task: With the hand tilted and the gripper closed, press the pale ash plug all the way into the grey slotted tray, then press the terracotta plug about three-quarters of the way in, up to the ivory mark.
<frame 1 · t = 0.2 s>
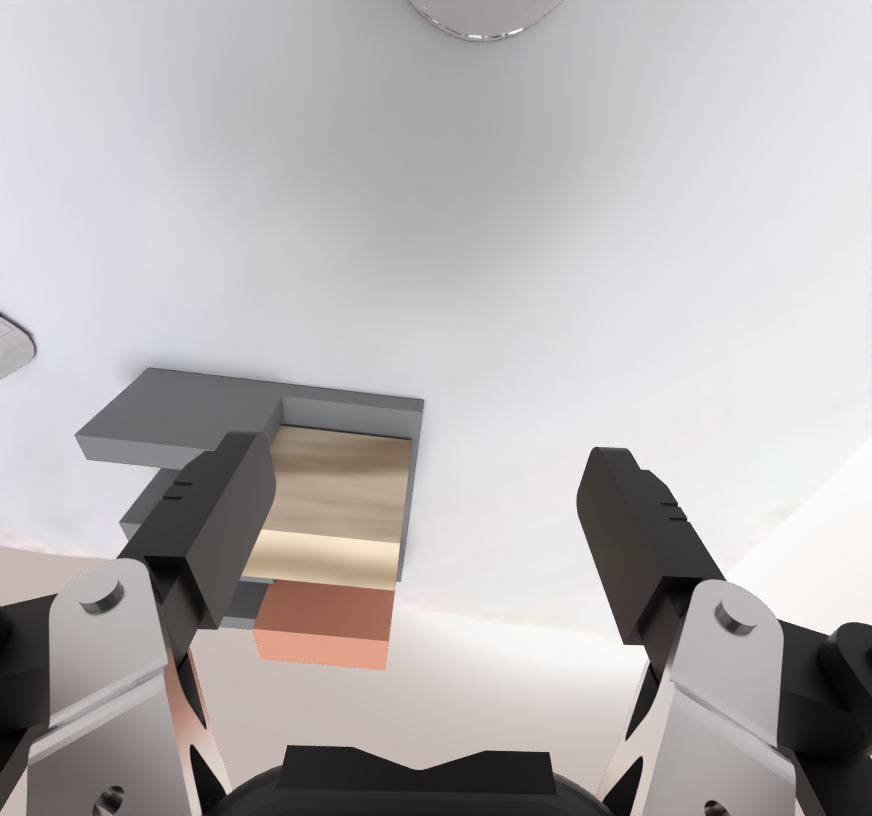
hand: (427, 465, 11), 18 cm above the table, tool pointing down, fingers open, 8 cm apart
ash plug: (331, 502, 29), point 6 cm above the table, slide at 8.0 cm
terracotta plug: (335, 595, 36), point 6 cm above the table, slide at 8.0 cm
grey slotted tray: (299, 486, 38), on the table
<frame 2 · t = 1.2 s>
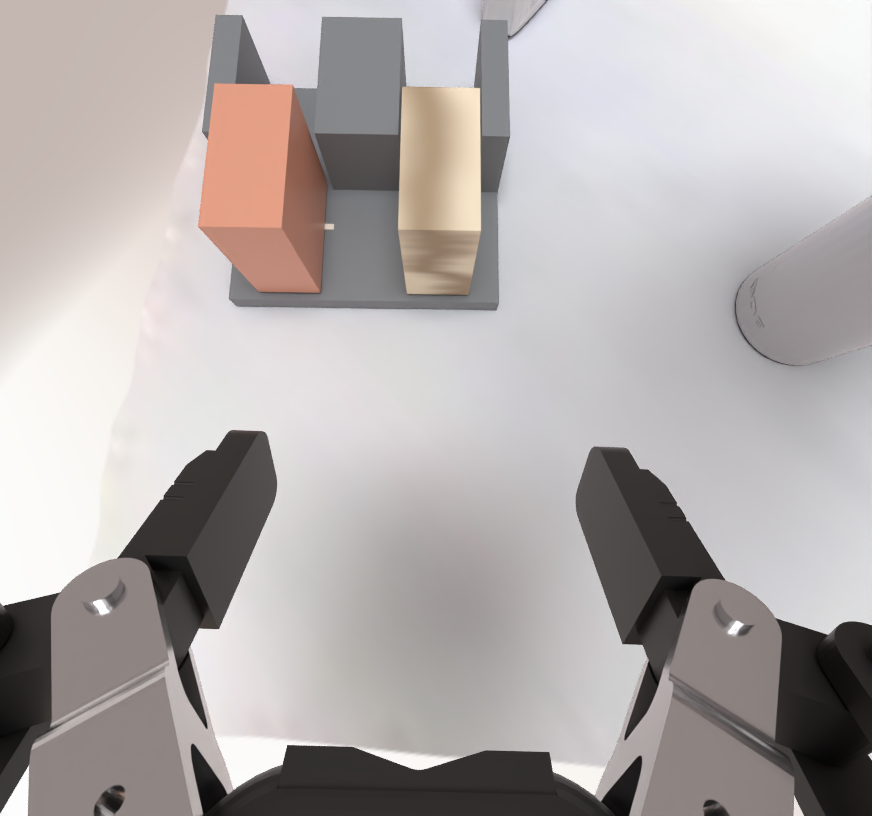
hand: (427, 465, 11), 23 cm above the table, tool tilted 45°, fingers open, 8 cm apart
ash plug: (439, 203, 31), point 6 cm above the table, slide at 8.0 cm
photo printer: (522, 3, 42), on the table
terracotta plug: (273, 200, 31), point 6 cm above the table, slide at 8.0 cm
grey slotted tray: (371, 201, 38), on the table
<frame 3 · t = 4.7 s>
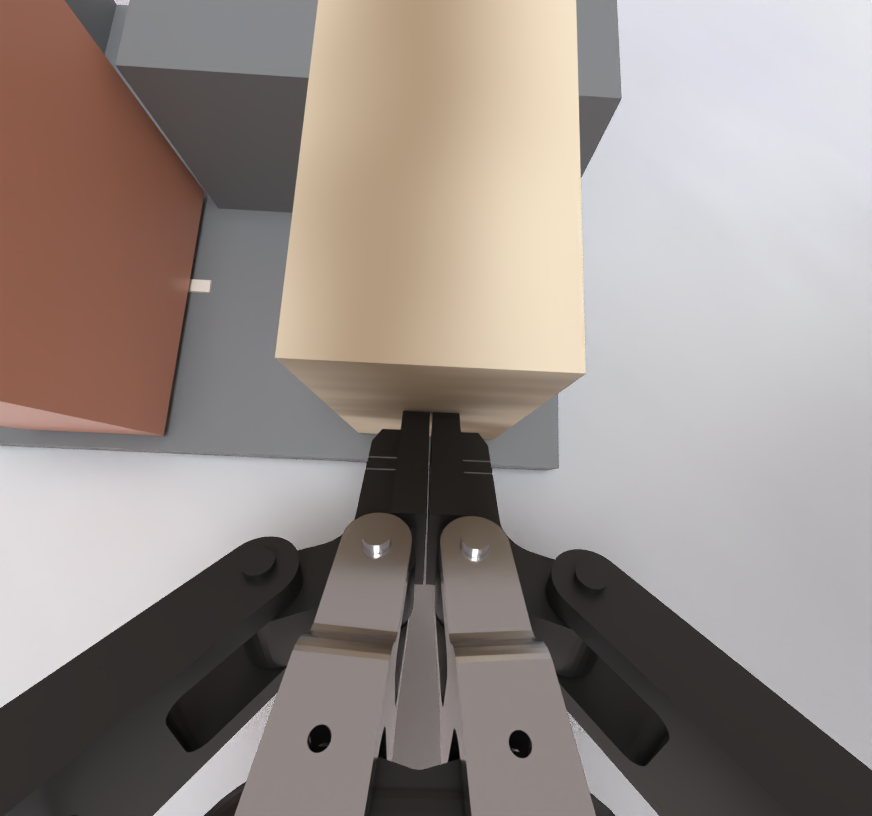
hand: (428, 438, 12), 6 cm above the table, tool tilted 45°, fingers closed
ash plug: (436, 243, 12), point 6 cm above the table, slide at 7.6 cm, touching gripper
terracotta plug: (6, 233, 12), point 6 cm above the table, slide at 8.0 cm
grey slotted tray: (302, 234, 19), on the table
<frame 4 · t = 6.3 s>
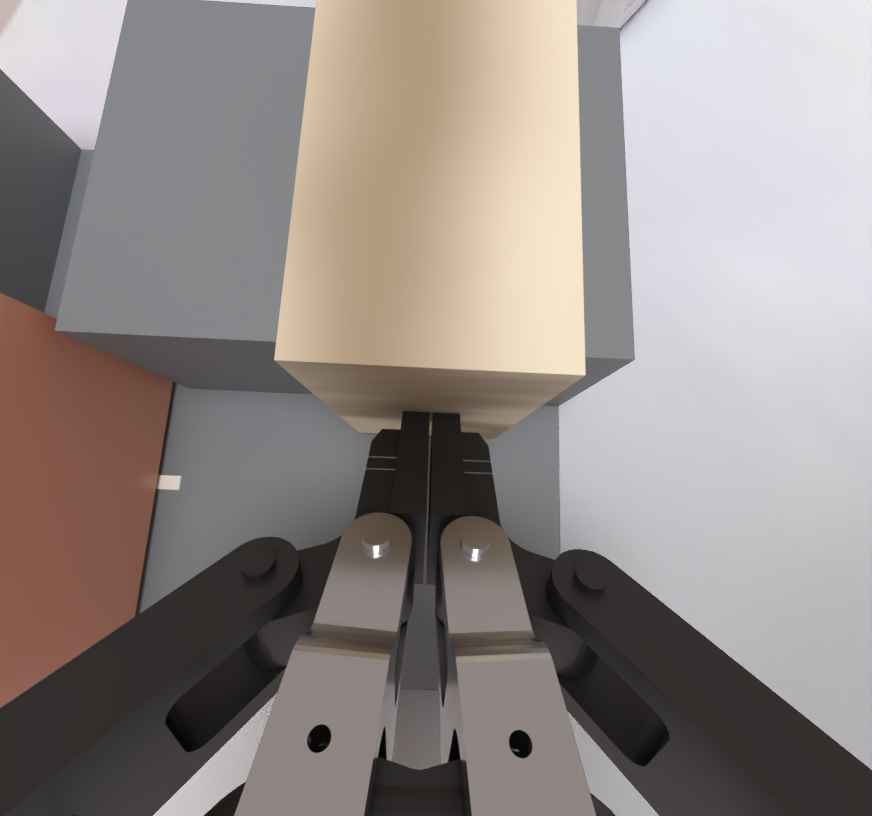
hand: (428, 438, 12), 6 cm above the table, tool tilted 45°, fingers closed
ash plug: (436, 243, 12), point 6 cm above the table, slide at -0.1 cm, touching gripper
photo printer: (599, 2, 22), on the table
grey slotted tray: (283, 400, 18), on the table
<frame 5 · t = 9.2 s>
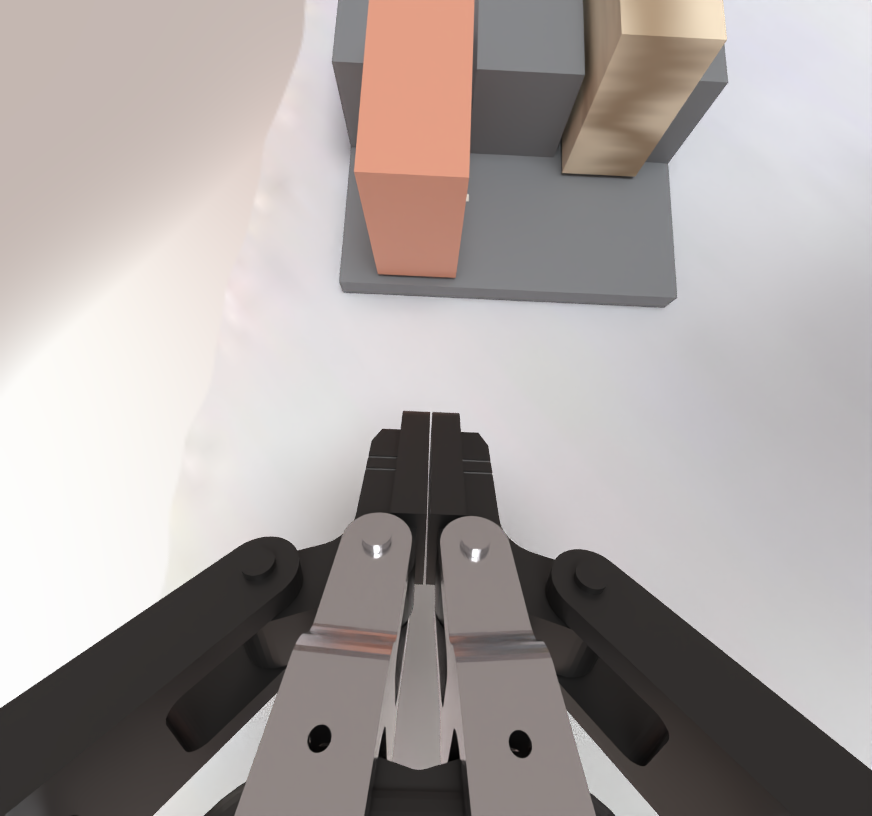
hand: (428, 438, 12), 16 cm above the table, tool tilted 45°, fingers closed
ash plug: (626, 46, 25), point 6 cm above the table, slide at -0.1 cm
terracotta plug: (419, 154, 24), point 6 cm above the table, slide at 8.0 cm
grey slotted tray: (506, 171, 31), on the table
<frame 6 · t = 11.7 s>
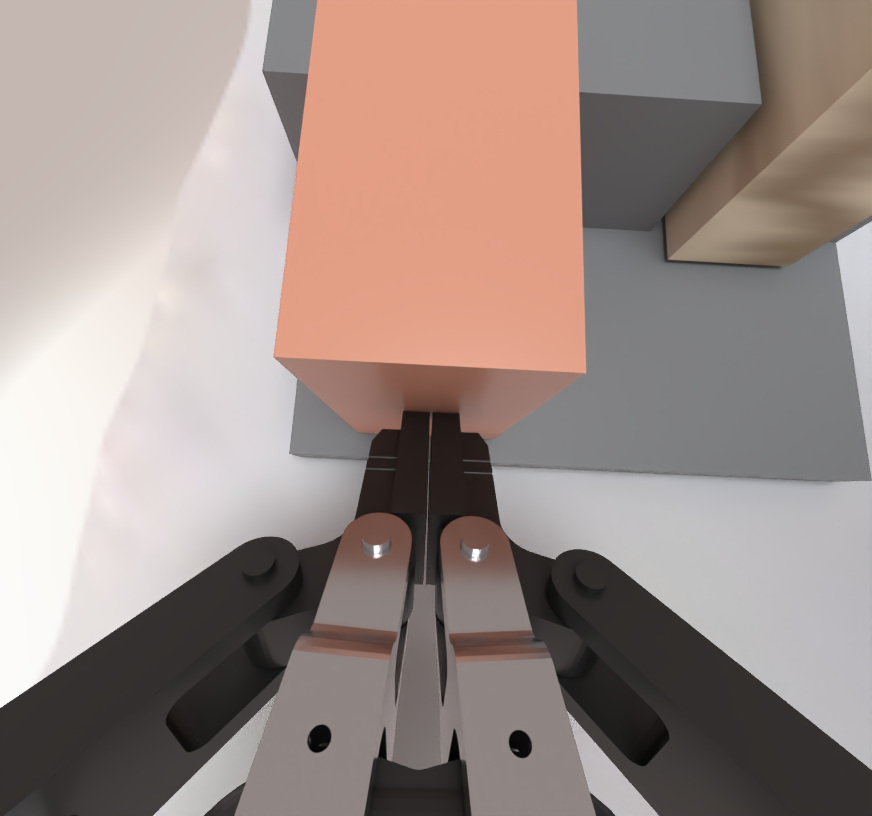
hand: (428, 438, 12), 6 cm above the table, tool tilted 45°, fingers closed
ash plug: (811, 51, 14), point 6 cm above the table, slide at -0.1 cm
terracotta plug: (435, 242, 12), point 6 cm above the table, slide at 7.6 cm, touching gripper
grey slotted tray: (567, 247, 19), on the table
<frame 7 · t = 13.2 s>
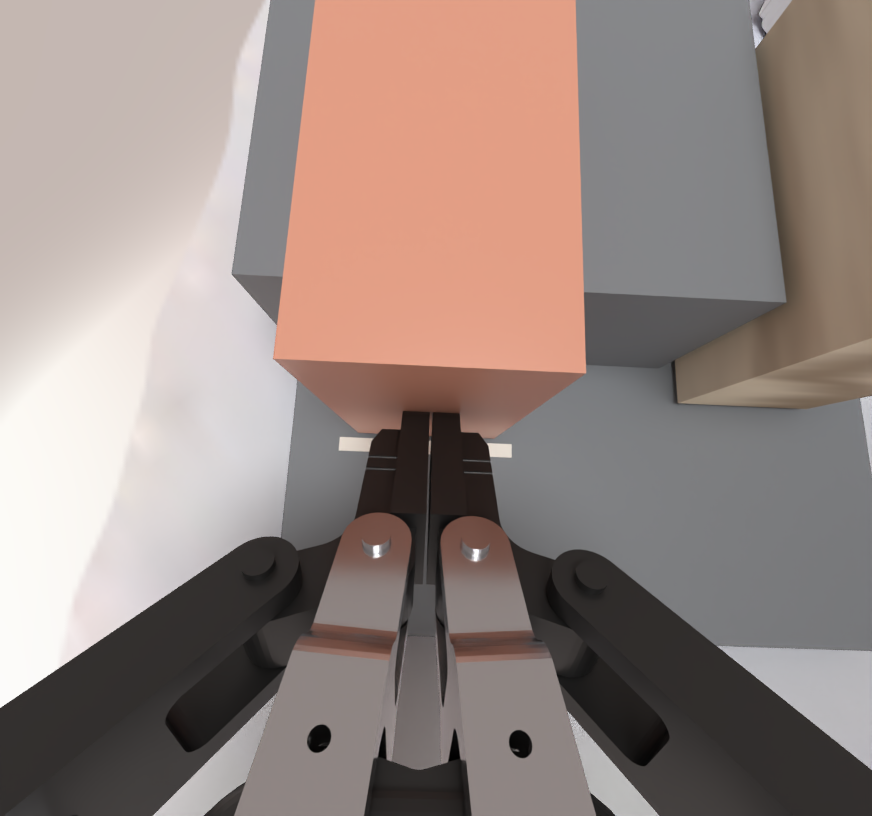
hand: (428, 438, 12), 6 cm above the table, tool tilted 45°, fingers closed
ash plug: (837, 213, 13), point 6 cm above the table, slide at -0.1 cm
terracotta plug: (435, 242, 12), point 6 cm above the table, slide at 1.6 cm, touching gripper
grey slotted tray: (569, 374, 18), on the table
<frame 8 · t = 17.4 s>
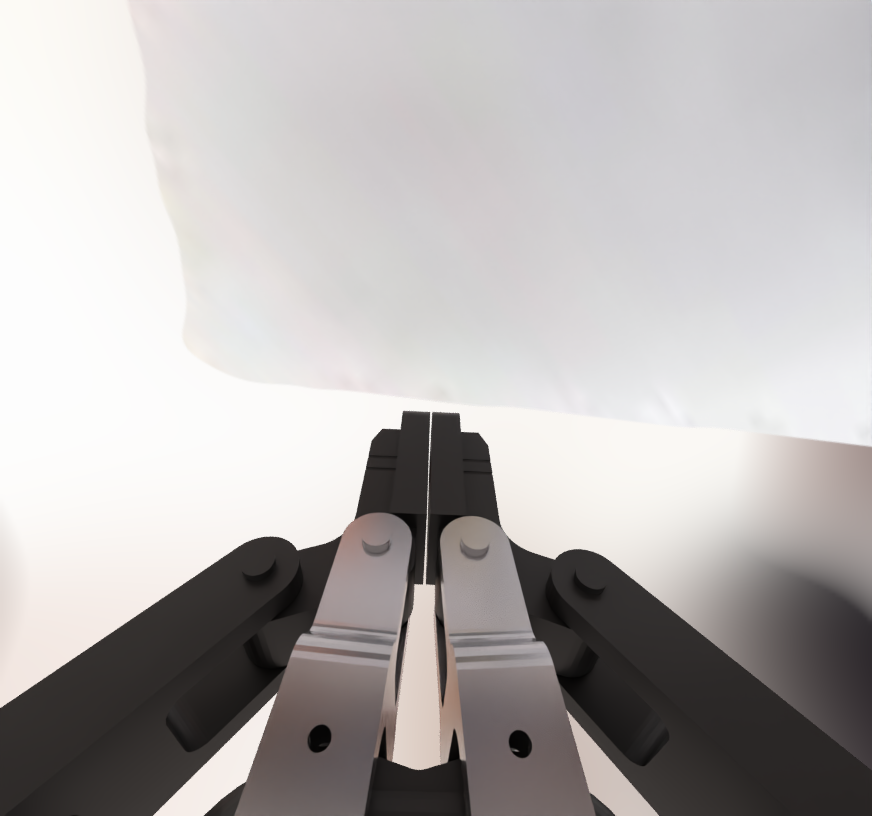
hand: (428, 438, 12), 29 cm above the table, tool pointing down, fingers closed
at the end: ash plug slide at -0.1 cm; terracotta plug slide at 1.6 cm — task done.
